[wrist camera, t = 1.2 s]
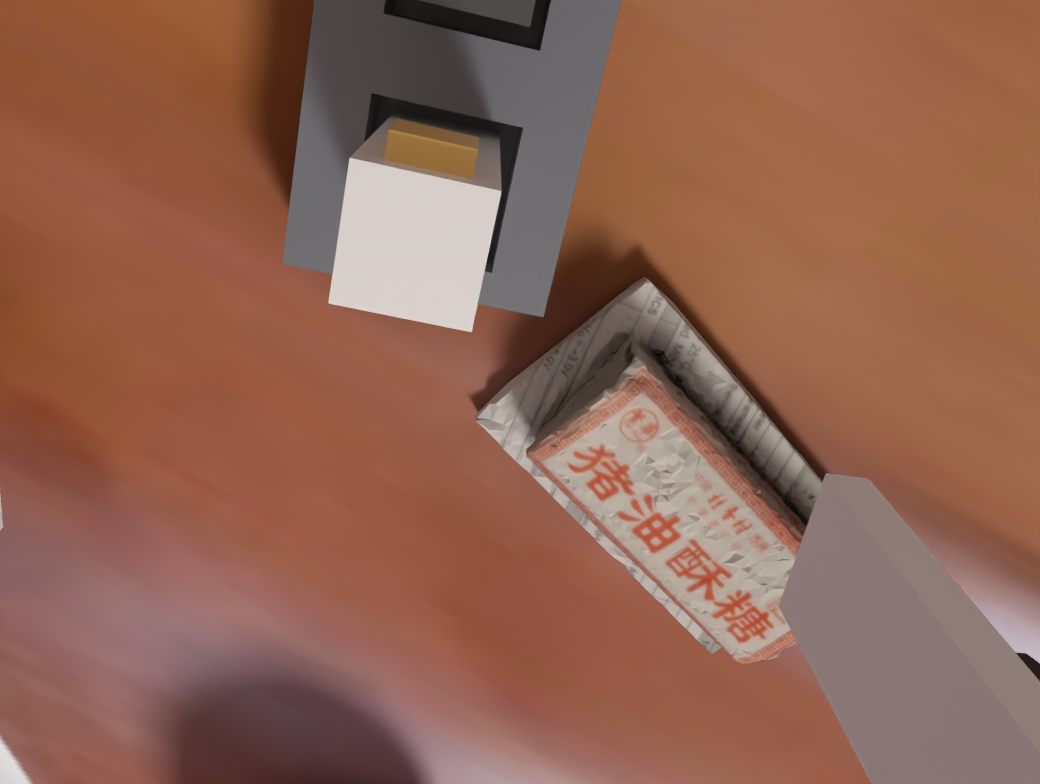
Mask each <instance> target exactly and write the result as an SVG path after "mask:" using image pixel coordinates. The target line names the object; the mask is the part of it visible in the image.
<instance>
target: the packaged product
mask: <svg viewBox="0 0 1040 784" xmlns="http://www.w3.org/2000/svg"><path fill="white" fill-rule="evenodd" d="M475 421H476V422H478V423H479V424H480V425H481V426H482V427H483V428H484V429H485V430H486V431H487V432H488V433H489V434H490V435H491V436H492V437H493V438H494V439H495V440H496V441H497V442H498V443H499V444H500V445H501V447H502V448H503V449H504V450H505V451H506V452H507V453H508V454H509V455H510V456H511V457H512V458H513V459H514V460H515V461H516V462H517V463H518V464H520V465H521V466H522V467H523V468H524V469H526V470H527V471H528V472H529V473H530V474H531V475H532V476H533V477H534V478H535V479H536V480H537V481H538V482H539V483H540V484H541V485H542V486H543V487H544V488H545V489H546V490H547V491H548V492H549V494H550V495H551V496H552V497H553V498H554V499H555V500H556V501H557V502H558V503H559V504H560V505H561V506H562V507H563V508H564V509H565V510H566V511H567V512H568V513H569V514H570V515H571V516H572V517H573V518H574V519H575V520H576V521H577V522H578V523H579V524H580V525H581V526H582V527H583V528H585V529H586V530H587V531H588V532H589V533H590V534H591V535H592V536H593V537H594V539H595V540H596V541H597V542H598V543H599V544H600V545H601V546H602V547H603V548H604V549H605V550H606V551H607V552H608V553H609V554H610V555H611V556H613V557H614V558H616V559H617V560H619V561H620V562H622V563H623V564H625V565H626V566H627V569H628V571H629V573H630V574H631V575H632V576H633V577H634V578H635V579H636V580H637V581H639V582H640V583H641V584H642V586H643V587H644V588H645V589H646V590H647V591H648V592H649V593H650V594H652V595H653V596H654V597H655V598H656V599H657V600H658V601H659V602H660V603H662V604H663V605H664V606H665V607H666V609H667V610H668V611H669V612H670V613H671V614H672V615H673V616H674V617H675V618H676V619H677V620H678V621H679V622H680V623H681V624H682V625H683V626H684V627H685V628H686V629H687V630H688V631H689V632H690V633H691V634H692V635H693V636H694V637H695V638H696V639H697V640H698V641H699V642H700V643H701V644H702V645H703V646H704V647H705V648H706V649H707V650H709V651H710V652H711V653H712V654H713V653H714V652H715V651H717V650H718V649H720V648H721V647H722V648H723V649H724V651H725V652H726V653H727V654H728V655H729V656H731V657H732V658H733V659H734V660H735V661H737V662H739V663H742V664H748V663H752V662H757V661H759V660H761V659H763V660H769V659H773V658H775V657H777V656H779V653H780V651H782V650H783V649H785V648H787V647H789V646H792V645H793V644H794V643H795V642H797V641H796V639H795V637H794V635H793V633H792V631H791V629H790V627H789V625H788V624H787V622H786V620H785V618H784V616H783V614H782V612H781V610H780V608H779V603H780V600H781V598H782V595H783V592H784V589H785V586H786V584H787V581H788V578H789V575H790V572H791V569H792V567H793V564H794V561H795V558H796V555H797V553H798V550H799V547H800V544H801V541H802V539H803V536H804V533H805V530H806V527H807V524H808V522H809V519H810V516H811V513H812V510H813V508H814V505H815V502H816V499H817V496H818V494H819V491H820V488H821V485H822V482H823V481H822V480H821V479H820V478H819V476H818V475H817V474H816V473H815V471H814V470H813V469H812V468H811V466H810V465H809V464H808V463H807V461H806V460H805V459H804V458H803V456H802V455H801V454H800V453H799V452H798V451H797V450H796V449H795V448H794V447H793V446H792V445H791V444H790V443H789V441H788V440H787V439H786V438H785V436H784V435H783V434H782V433H781V432H780V430H779V429H778V428H777V427H776V425H775V424H774V423H773V422H772V420H771V419H770V418H769V417H768V415H767V414H766V413H765V412H764V410H763V409H762V408H761V406H760V405H759V404H758V403H757V401H756V400H755V399H754V398H753V396H752V395H751V394H750V393H749V392H748V391H747V389H746V388H745V387H744V386H743V385H742V384H741V382H740V381H739V380H738V379H737V378H736V376H735V375H734V374H733V373H732V372H731V371H730V370H729V369H728V367H727V366H726V365H725V364H724V362H723V361H722V360H721V359H720V358H719V356H718V355H717V354H716V353H715V352H714V350H713V349H712V348H711V347H710V346H709V345H708V343H707V342H706V341H705V340H704V339H703V337H702V336H701V335H700V334H699V333H698V332H697V330H696V329H695V328H694V327H693V326H692V324H691V323H690V322H689V321H688V320H687V318H686V317H685V316H684V315H683V314H682V313H681V311H680V310H679V309H678V308H677V307H676V305H675V304H674V303H673V302H672V301H671V300H670V299H669V298H668V297H666V296H665V295H664V294H663V293H662V292H661V291H660V290H659V289H658V288H657V287H656V286H655V285H654V284H653V283H652V282H651V281H650V280H648V279H647V278H646V277H643V278H641V279H639V280H638V281H636V282H635V283H633V284H632V285H631V286H630V287H628V288H627V289H626V290H624V291H623V292H622V293H621V294H619V295H618V296H617V297H615V298H614V299H613V300H612V301H611V302H609V303H608V304H607V305H606V306H604V307H603V308H602V309H601V310H600V311H598V312H597V313H596V314H595V315H593V316H592V317H591V318H590V319H588V320H587V321H586V322H585V323H584V324H583V325H582V326H580V327H579V328H578V329H576V330H575V331H574V332H572V333H571V334H570V335H568V336H567V337H566V338H565V339H563V340H562V341H561V342H559V343H558V344H557V345H556V346H554V347H553V348H552V349H550V350H549V351H548V352H547V353H545V354H544V355H543V356H541V357H540V358H539V359H538V360H536V361H535V362H534V363H532V364H531V365H530V366H529V367H527V368H526V369H525V370H524V371H522V372H521V373H520V374H518V375H517V376H516V377H515V378H513V379H512V380H511V381H510V382H508V383H507V384H506V385H505V386H504V387H503V388H502V389H501V390H500V391H499V392H498V393H497V394H496V395H495V396H494V397H493V398H492V399H491V400H490V401H489V402H488V403H487V404H486V405H485V406H484V407H483V408H482V409H481V410H480V411H479V412H478V413H477V416H476V419H475Z"/></svg>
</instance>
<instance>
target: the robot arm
mask: <svg viewBox="0 0 1040 784" xmlns="http://www.w3.org/2000/svg"><path fill="white" fill-rule="evenodd" d="M2 528H3V523H2V509H1V496H0V530H1V529H2ZM779 608H780V610H781V612H782V614H783V616H784V618H785V620H786V622H787V624H788V625H789V627H790V629H791V631H792V633H793V635H794V637H795V639H796V641H797V643H798V645H799V646H800V648H801V650H802V652H803V654H804V656H805V658H806V660H807V662H808V664H809V666H810V667H811V669H812V671H813V673H814V675H815V677H816V679H817V681H818V683H819V685H820V687H821V689H822V690H823V692H824V694H825V696H826V698H827V700H828V702H829V704H830V706H831V708H832V710H833V711H834V713H835V715H836V717H837V719H838V721H839V723H840V725H841V727H842V729H843V731H844V732H845V734H846V736H847V738H848V740H849V742H850V744H851V746H852V748H853V750H854V752H855V753H856V755H857V757H858V759H859V761H860V763H861V765H862V767H863V769H864V771H865V773H866V774H867V776H868V778H869V780H870V782H871V784H1040V664H1039V663H1038V662H1037V661H1035V660H1034V659H1033V658H1031V657H1030V656H1029V655H1028V654H1025V653H1015V651H1014V650H1013V649H1012V648H1011V647H1010V646H1009V644H1008V643H1007V642H1006V641H1005V640H1004V638H1003V637H1002V636H1001V635H1000V634H999V632H998V631H997V630H996V629H995V628H994V627H993V625H992V624H991V623H990V622H989V621H988V619H987V618H986V617H985V616H984V615H983V614H982V612H981V611H980V610H979V609H978V608H977V606H976V605H975V604H974V603H973V602H972V600H971V599H970V598H969V597H968V596H967V595H966V593H965V592H964V591H963V590H962V589H961V587H960V586H959V585H958V584H957V583H956V582H955V580H954V579H953V578H952V577H951V576H950V574H949V573H948V572H947V571H946V570H945V569H944V567H943V566H942V565H941V564H940V563H939V561H938V560H937V559H936V558H935V557H934V555H933V554H932V553H931V552H930V551H929V550H928V548H927V547H926V546H925V545H924V544H923V542H922V541H921V540H920V539H919V538H918V537H917V535H916V534H915V533H914V532H913V531H912V529H911V528H910V527H909V526H908V525H907V524H906V522H905V521H904V520H903V519H902V518H901V516H900V515H899V514H898V513H897V512H896V510H895V509H894V508H893V507H892V506H891V505H890V503H889V502H888V501H887V500H886V499H885V497H884V496H883V495H882V494H881V493H880V492H879V490H878V489H877V488H876V487H875V486H874V484H873V483H872V482H871V481H870V480H869V479H868V478H860V477H852V476H844V475H836V474H828V473H826V474H825V477H824V479H823V482H822V485H821V488H820V491H819V494H818V496H817V499H816V502H815V505H814V508H813V510H812V513H811V516H810V519H809V522H808V524H807V527H806V530H805V533H804V536H803V539H802V541H801V544H800V547H799V550H798V553H797V555H796V558H795V561H794V564H793V567H792V569H791V572H790V575H789V578H788V581H787V584H786V586H785V589H784V592H783V595H782V598H781V600H780V603H779Z"/></svg>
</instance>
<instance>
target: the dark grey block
mask: <svg viewBox="0 0 1040 784" xmlns="http://www.w3.org/2000/svg"><path fill="white" fill-rule="evenodd" d="M420 1H424V2H428V3H432V4H436V5H440V6H444V7H448V8H453V9H457V10H461V11H465V12H469V13H473V14H477V15H482V16H486V17H490V18H494V19H498V20H502V21H506V22H510V23H515V24H519V25H523V26H527V27H530V25H531V20H532V16H533V11H534V6H535V1H536V0H420Z"/></svg>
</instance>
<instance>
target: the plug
mask: <svg viewBox="0 0 1040 784" xmlns="http://www.w3.org/2000/svg"><path fill="white" fill-rule="evenodd" d="M501 192H502V187H501V161H500V135H499V132H494V131H490V130H486V129H481V128H477V127H472V126H468V125H464V124H459V123H455V122H450V121H446V120H442V119H437V118H433V117H428V116H424V115H420V114H415V113H411V112H406V111H402V110H398V109H397V110H396V111H395V112H394V113H393V114H392V115H391V116H390V117H389V118H388V119H387V120H386V121H385V122H384V123H383V124H382V125H381V126H380V127H379V128H378V129H377V130H376V131H375V132H374V133H373V134H372V135H371V136H370V137H369V138H368V139H367V140H366V141H365V142H364V143H363V144H362V145H361V146H360V147H359V148H358V150H357V151H356V152H355V153H354V154H353V155H352V156H351V157H350V158H349V165H348V172H347V178H346V185H345V192H344V199H343V206H342V213H341V220H340V227H339V234H338V241H337V248H336V255H335V261H334V268H333V275H332V282H331V289H330V296H329V304H334V305H339V306H344V307H349V308H354V309H359V310H364V311H369V312H374V313H379V314H384V315H389V316H394V317H399V318H404V319H409V320H414V321H419V322H424V323H429V324H433V325H438V326H443V327H448V328H453V329H458V330H463V331H468V332H472V328H473V323H474V318H475V314H476V309H477V304H478V300H479V295H480V290H481V286H482V281H483V276H484V271H485V267H486V262H487V257H488V253H489V248H490V243H491V239H492V234H493V229H494V225H495V220H496V215H497V211H498V206H499V201H500V197H501Z"/></svg>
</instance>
